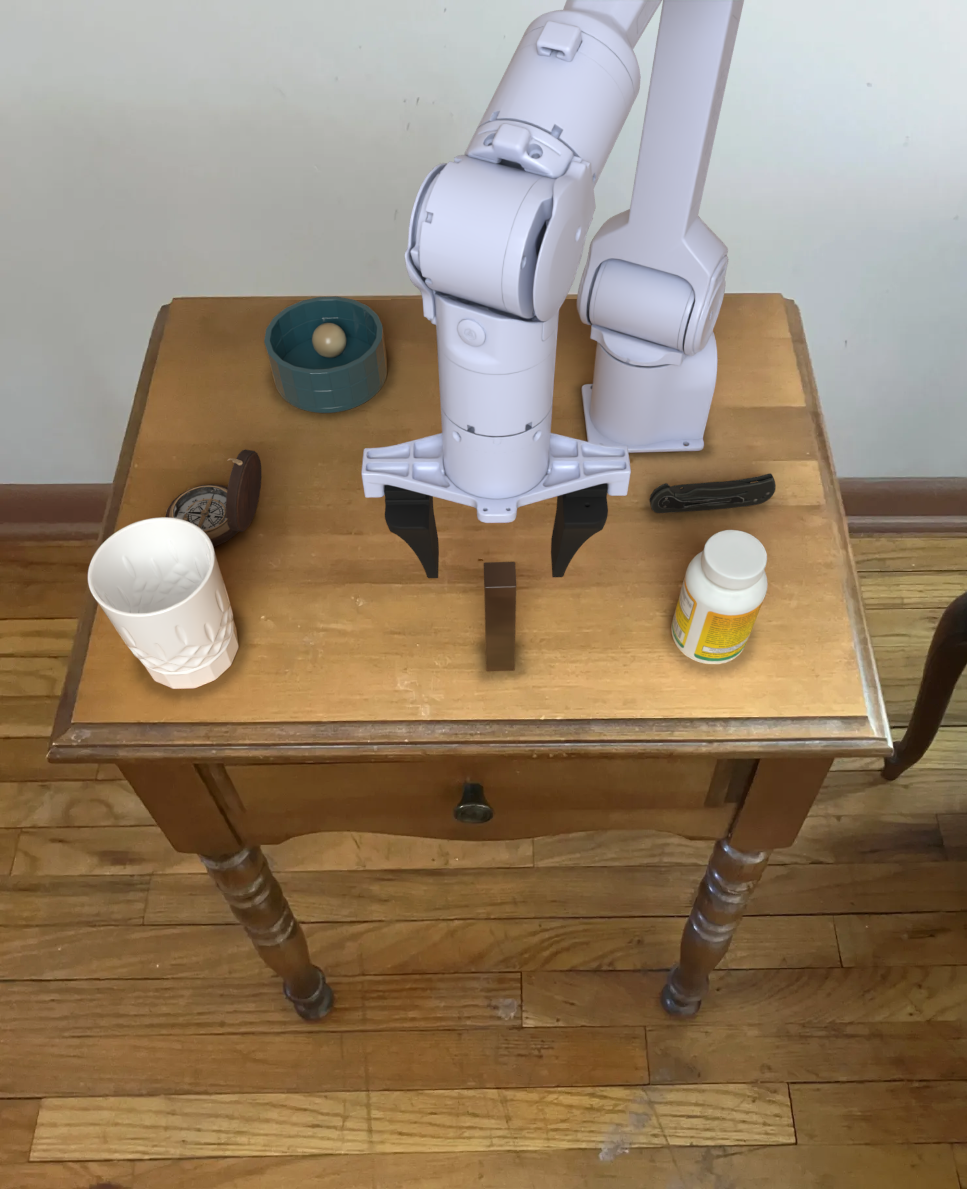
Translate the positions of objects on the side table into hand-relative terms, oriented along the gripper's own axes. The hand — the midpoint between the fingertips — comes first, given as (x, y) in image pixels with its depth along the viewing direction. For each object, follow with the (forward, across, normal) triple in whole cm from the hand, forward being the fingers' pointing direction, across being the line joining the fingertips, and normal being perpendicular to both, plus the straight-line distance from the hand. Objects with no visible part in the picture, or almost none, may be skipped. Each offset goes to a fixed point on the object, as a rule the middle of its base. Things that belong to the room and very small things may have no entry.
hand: (495, 565), depth 60 cm
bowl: (+10, -14, +30) cm, 35 cm away
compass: (+11, -22, +12) cm, 27 cm away
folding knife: (+10, +17, +14) cm, 24 cm away
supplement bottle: (+11, +15, +2) cm, 19 cm away
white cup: (+11, -22, +1) cm, 24 cm away
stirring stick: (+11, 0, 0) cm, 11 cm away
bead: (+10, -14, +32) cm, 36 cm away
